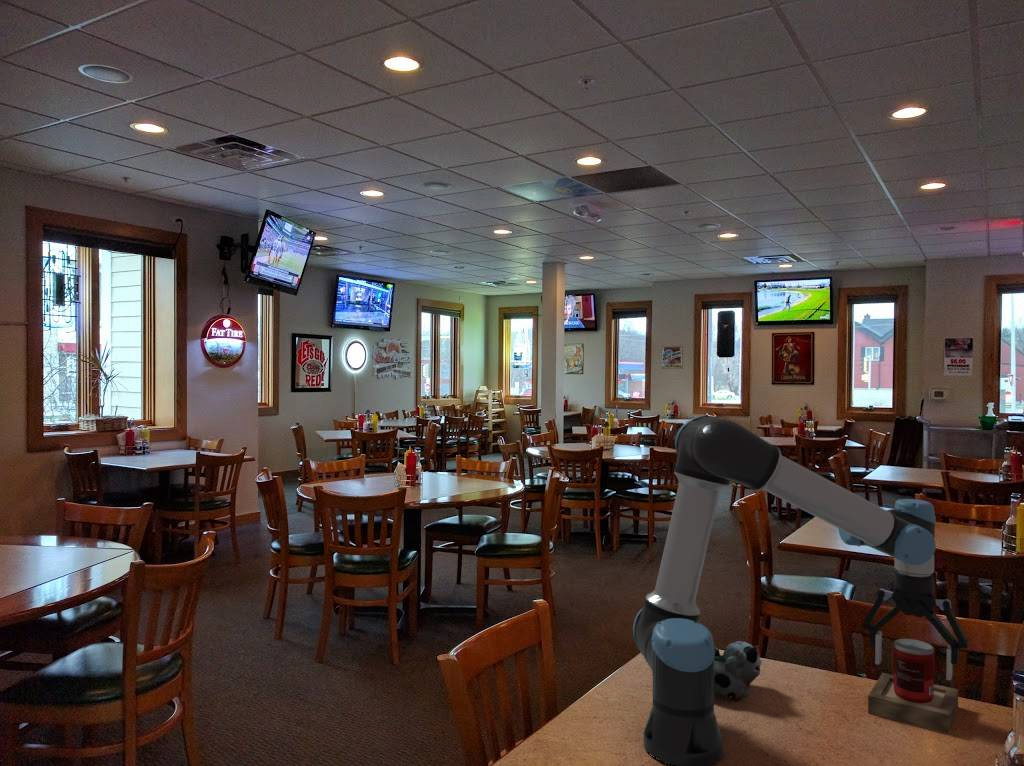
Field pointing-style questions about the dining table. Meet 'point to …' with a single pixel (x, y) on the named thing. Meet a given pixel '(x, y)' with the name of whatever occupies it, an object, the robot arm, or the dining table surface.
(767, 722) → the dining table surface
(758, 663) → the lucky cat figurine
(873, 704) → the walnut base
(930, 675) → the canned food
